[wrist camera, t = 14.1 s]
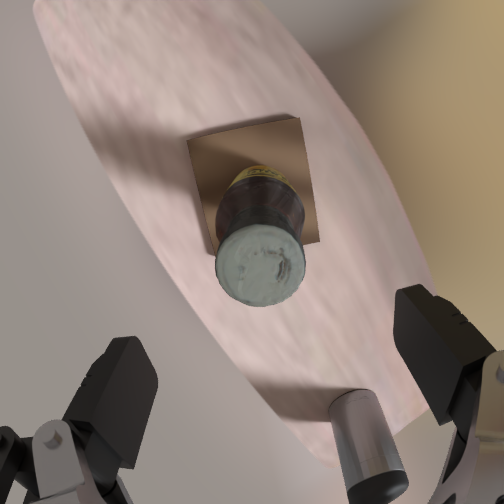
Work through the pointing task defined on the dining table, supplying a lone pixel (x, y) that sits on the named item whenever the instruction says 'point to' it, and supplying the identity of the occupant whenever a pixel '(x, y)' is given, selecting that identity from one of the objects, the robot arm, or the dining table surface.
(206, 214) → the walnut board
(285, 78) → the dining table surface
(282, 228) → the sauce bottle
